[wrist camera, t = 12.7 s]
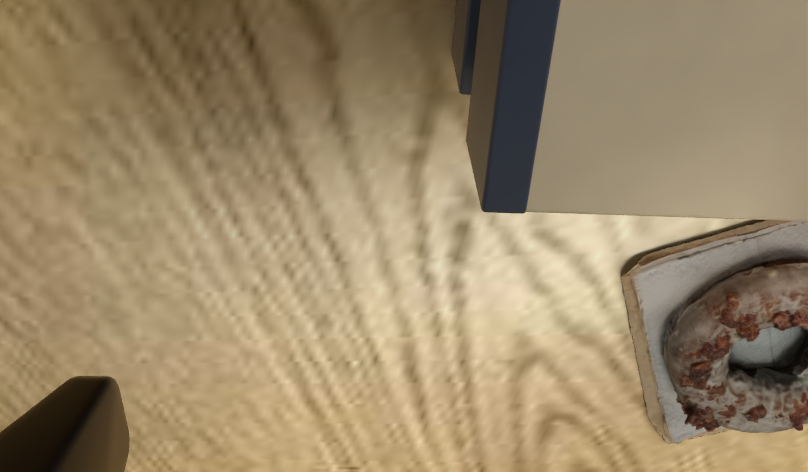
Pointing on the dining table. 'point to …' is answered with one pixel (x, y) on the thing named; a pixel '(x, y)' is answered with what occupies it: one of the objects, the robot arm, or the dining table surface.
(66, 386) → the robot arm
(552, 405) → the dining table surface
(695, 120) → the white book
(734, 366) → the donut
